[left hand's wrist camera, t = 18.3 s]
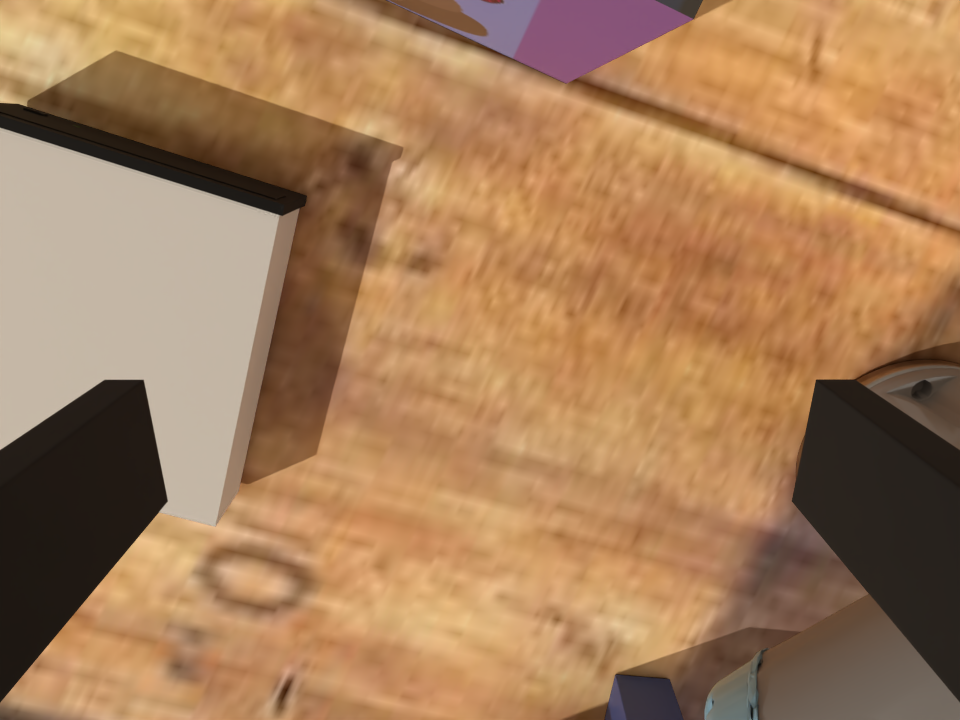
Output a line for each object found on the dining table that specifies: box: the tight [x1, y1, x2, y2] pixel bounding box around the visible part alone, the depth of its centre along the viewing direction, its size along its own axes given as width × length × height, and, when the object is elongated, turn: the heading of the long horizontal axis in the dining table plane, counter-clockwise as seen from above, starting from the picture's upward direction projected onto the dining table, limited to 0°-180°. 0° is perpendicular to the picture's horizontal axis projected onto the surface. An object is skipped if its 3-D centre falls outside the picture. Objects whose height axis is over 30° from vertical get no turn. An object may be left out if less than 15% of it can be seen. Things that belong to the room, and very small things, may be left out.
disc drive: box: [0, 103, 307, 527], centre depth 40 cm, size 18×22×5 cm
